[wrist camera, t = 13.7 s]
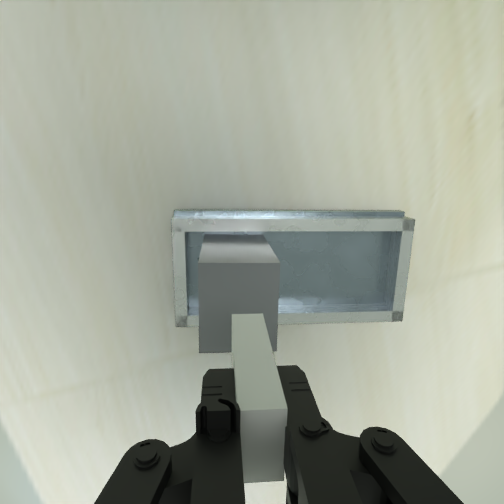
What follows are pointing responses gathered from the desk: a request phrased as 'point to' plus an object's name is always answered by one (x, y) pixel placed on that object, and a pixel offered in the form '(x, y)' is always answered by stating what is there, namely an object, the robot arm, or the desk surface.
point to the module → (235, 287)
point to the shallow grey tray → (308, 261)
